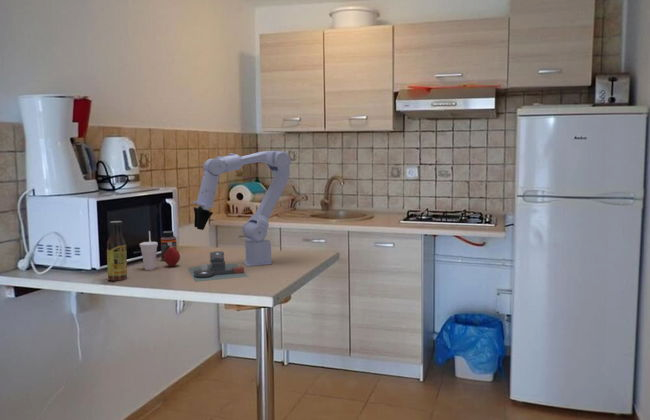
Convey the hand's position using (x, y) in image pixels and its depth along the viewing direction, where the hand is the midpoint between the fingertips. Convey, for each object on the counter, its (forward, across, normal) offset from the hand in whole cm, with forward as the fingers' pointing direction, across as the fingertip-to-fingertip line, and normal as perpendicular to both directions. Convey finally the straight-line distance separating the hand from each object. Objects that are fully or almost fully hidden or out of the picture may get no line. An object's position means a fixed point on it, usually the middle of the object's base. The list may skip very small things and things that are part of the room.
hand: (198, 228), depth 202 cm
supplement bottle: (+16, -24, -4) cm, 30 cm away
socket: (+13, 0, +10) cm, 16 cm away
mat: (+14, +5, +9) cm, 17 cm away
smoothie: (+19, -10, -12) cm, 25 cm away
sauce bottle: (+23, +2, -22) cm, 32 cm away
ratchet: (+14, +9, +9) cm, 19 cm away
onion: (+17, -12, -4) cm, 21 cm away
